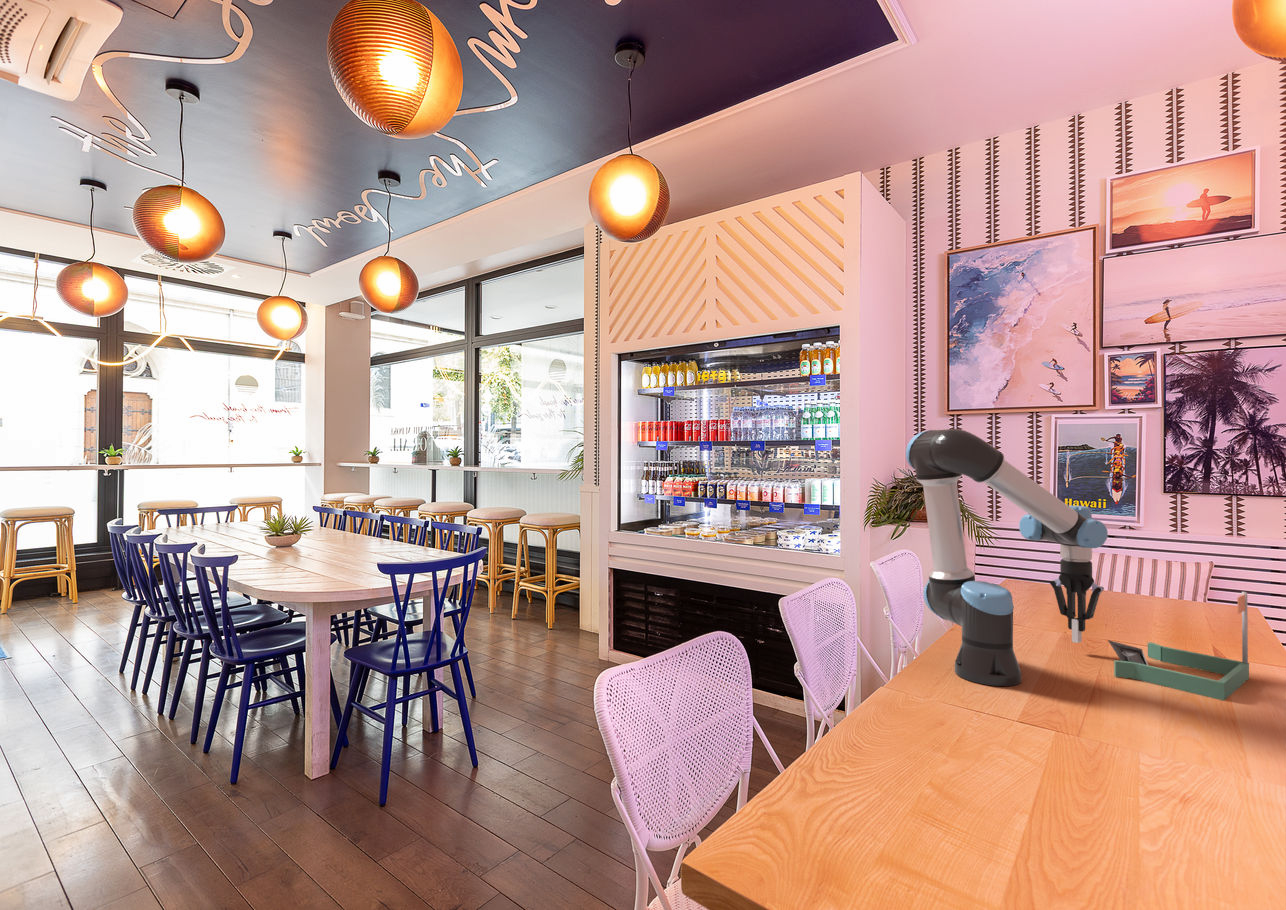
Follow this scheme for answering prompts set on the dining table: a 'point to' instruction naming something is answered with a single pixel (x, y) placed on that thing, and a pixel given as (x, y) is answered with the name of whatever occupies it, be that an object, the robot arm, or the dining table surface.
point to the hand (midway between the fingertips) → (1076, 641)
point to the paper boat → (1128, 653)
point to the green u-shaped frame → (1193, 666)
